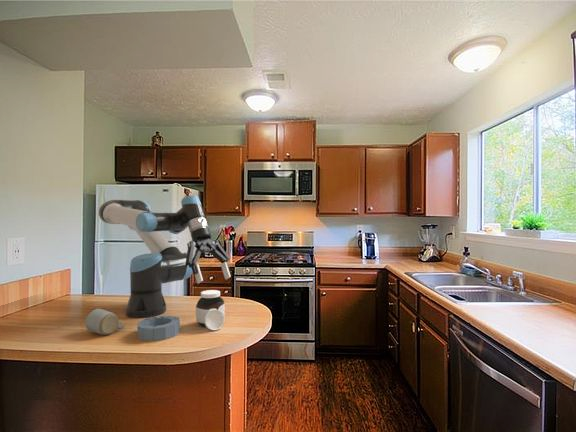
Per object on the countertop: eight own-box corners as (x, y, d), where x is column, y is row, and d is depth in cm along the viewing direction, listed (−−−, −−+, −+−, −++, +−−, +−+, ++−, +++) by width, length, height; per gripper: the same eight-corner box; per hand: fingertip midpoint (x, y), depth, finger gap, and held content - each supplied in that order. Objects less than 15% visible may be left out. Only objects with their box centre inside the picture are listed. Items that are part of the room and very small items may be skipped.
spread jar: (212, 318, 127) (212, 288, 127) (235, 323, 121) (235, 291, 121) (188, 328, 117) (188, 294, 117) (212, 333, 111) (212, 299, 111)
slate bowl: (130, 334, 110) (130, 322, 110) (165, 324, 120) (165, 313, 120) (151, 344, 102) (151, 331, 102) (187, 332, 112) (187, 320, 112)
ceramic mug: (100, 338, 107) (100, 314, 107) (84, 334, 111) (84, 311, 111) (129, 329, 116) (129, 307, 116) (114, 325, 120) (114, 304, 120)
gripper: (177, 225, 123) (193, 279, 116) (228, 226, 143) (244, 273, 136) (167, 235, 127) (181, 287, 120) (218, 234, 147) (232, 280, 140)
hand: (214, 280), depth 128 cm, fingers open, 13 cm apart
